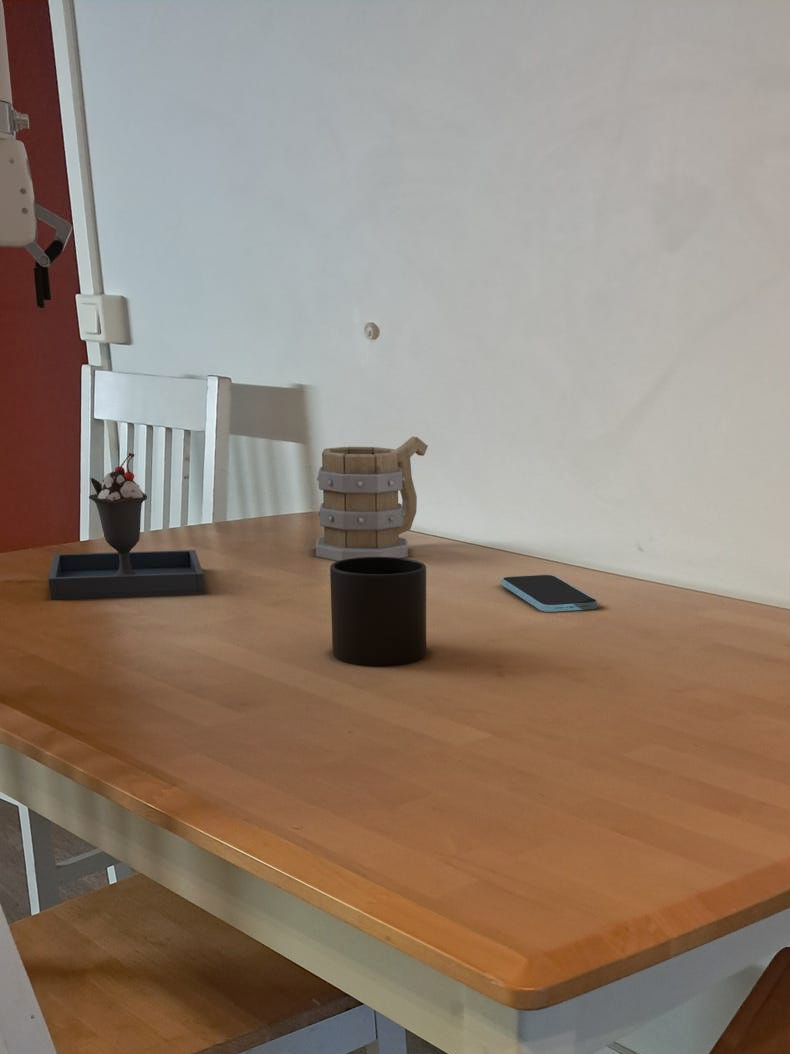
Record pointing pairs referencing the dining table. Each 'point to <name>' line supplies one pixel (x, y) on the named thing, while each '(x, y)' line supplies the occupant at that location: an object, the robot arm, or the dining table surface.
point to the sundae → (120, 512)
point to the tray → (98, 577)
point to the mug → (378, 610)
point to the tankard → (367, 501)
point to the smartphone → (549, 593)
